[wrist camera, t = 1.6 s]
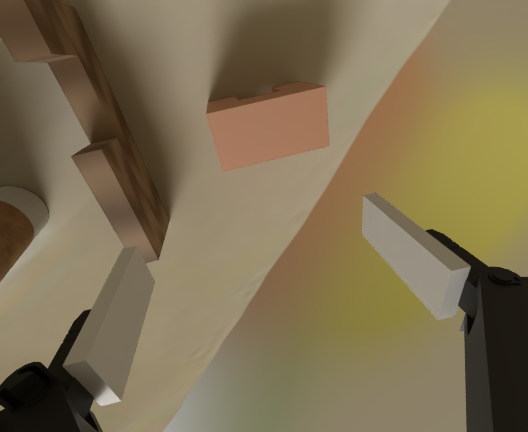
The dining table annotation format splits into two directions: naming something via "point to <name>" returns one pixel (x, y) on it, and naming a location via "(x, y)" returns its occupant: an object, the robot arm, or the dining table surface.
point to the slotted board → (90, 118)
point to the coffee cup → (18, 223)
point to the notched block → (269, 124)
